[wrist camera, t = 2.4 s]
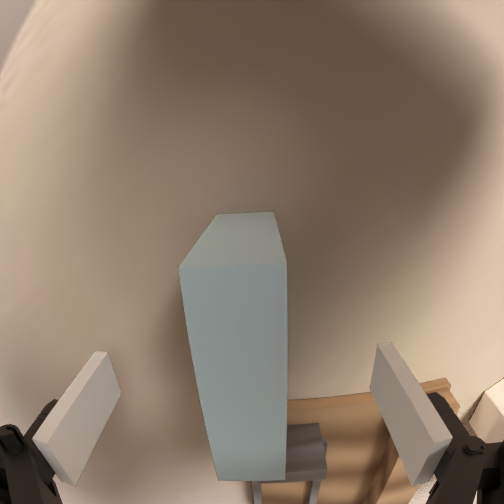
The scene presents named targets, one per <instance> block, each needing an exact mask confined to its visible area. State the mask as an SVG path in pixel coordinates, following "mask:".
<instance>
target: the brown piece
mask: <svg viewBox="0 0 504 504" xmlns="http://www.w3.org/2000/svg"><path fill="white" fill-rule="evenodd" d="M420 386H421V387H422V389H423V390H424V392H425V393H426V394H428V393H432V392H437V393H438V394H440V395H441V396H443V397H444V398H445V399H446V401H447V402H448V404H449V405H450V407H451V408H452V410H453V411H454V414H456V415H457V412H458V410H459V408H460V405H459V404H458V402H457V401H456V400H455V398H454V397H453V395H452V394H451V392H450V391H449V390H450V387H451V385H450V383H449V382H448V380H447V379H446V378H443V379H438V380H434V381H429V382H425V383H420ZM419 486H420V484H419V485H415V486H412V485H411V483H410V480H409V478H408V475H407V473H406V471H405V468H404V466H403V463H402V461H401V458H400V456H399V454H398V451H397V449H396V447H395V444H394V442H393V440H392V437H391V435H390V433H389V430H388V428H387V426H386V423H385V421H384V419H383V416H382V414H381V412H380V410H379V407H378V405H377V403H376V401H375V399H374V396H373V394H372V392H367V393H360V394H352V395H344V396H335V397H325V398H314V399H302V400H287V436H286V468H285V480H271V481H251V487H252V496H253V504H408V503H409V502H410V500H411V498H412V497H413V495H414V494H415V492H416V491H417V489H418V487H419Z"/></svg>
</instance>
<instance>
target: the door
mask: <svg viewBox="0 0 504 504" xmlns="http://www.w3.org/2000/svg"><path fill="white" fill-rule="evenodd" d="M178 270H179V277H180V285H181V292H182V299H183V306H184V313H185V319H186V326H187V332H188V338H189V344H190V350H191V356H192V361H193V367H194V372H195V378H196V383H197V388H198V393H199V400H200V404H201V408H202V413H203V417H204V422H205V427H206V431H207V436H208V440H209V445H210V449H211V453H212V457H213V461H214V465H215V470H216V474H217V477H218V480H224V481H271V480H285V468H286V436H287V379H288V304H287V262H286V257H285V253H284V249H283V246H282V242H281V238H280V234H279V230H278V226H277V222H276V218H275V214H274V212H253V213H233V214H217V215H216V216H215V218H214V219H213V220H212V222H211V223H210V224H209V226H208V227H207V228H206V230H205V231H204V232H203V234H202V235H201V237H200V238H199V239H198V241H197V242H196V243H195V245H194V246H193V248H192V249H191V250H190V252H189V253H188V254H187V256H186V257H185V259H184V260H183V261H182V263H181V264H180V266H179V267H178Z"/></svg>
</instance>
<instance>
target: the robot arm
mask: <svg viewBox="0 0 504 504" xmlns="http://www.w3.org/2000/svg"><path fill="white" fill-rule="evenodd" d="M370 390H371V392H372V394H373V396H374V399H375V401H376V403H377V405H378V407H379V410H380V412H381V414H382V416H383V419H384V421H385V423H386V426H387V428H388V430H389V433H390V435H391V437H392V440H393V442H394V444H395V447H396V449H397V451H398V454H399V456H400V458H401V461H402V463H403V466H404V468H405V471H406V473H407V475H408V478H409V480H410V483H411V485H412V486H415V485H419V484H422V483H425V482H428V481H429V480H430V479H431V477H432V475H433V474H435V476H436V478H437V481H436V483H435V484H434V486H433V487H432V489H431V490H430V492H429V494H430V496H429V498H428V500H427V502H426V504H473V501H474V498H475V495H476V492H477V504H504V440H503V442H496V443H485V442H484V441H483V440H482V439H481V438H478V437H476V436H470V435H469V434H468V432H467V431H466V429H465V428H464V426H463V424H462V423H461V421H460V420H459V418H458V417H457V415H456V414H454V411H453V410H452V408H451V407H450V405H449V404H448V402H447V401H446V399H445V398H444V397H443V396H441V395H440V394H438V393H437V392H432V393H428V394H426V393H425V392H424V390H423V389H422V387H421V386H420V384H419V383H418V381H417V379H416V378H415V376H414V375H413V373H412V372H411V370H410V369H409V367H408V366H407V364H406V363H405V361H404V360H403V358H402V357H401V355H400V354H399V352H398V351H397V349H396V348H395V347H394V345H393V344H392V342H391V343H383V344H377V350H376V356H375V362H374V368H373V374H372V379H371V385H370ZM120 396H121V391H120V388H119V385H118V382H117V379H116V376H115V373H114V370H113V367H112V363H111V360H110V357H109V353H108V352H101V351H95V352H94V354H93V355H92V356H91V357H90V359H89V360H88V361H87V363H86V364H85V365H84V367H83V368H82V369H81V371H80V372H79V373H78V375H77V376H76V377H75V379H74V380H73V381H72V383H71V384H70V386H69V387H68V388H67V390H66V391H65V392H64V394H63V395H62V397H61V398H60V399H59V400H55V399H54V400H53V401H51V402H50V403H49V404H47V405H46V406H45V407H44V409H43V410H42V411H41V414H39V416H38V417H37V420H35V421H34V423H33V424H32V425H31V427H30V428H29V429H28V431H27V432H26V434H25V435H24V437H23V435H22V433H21V432H20V430H19V428H18V427H16V426H15V425H11V424H9V425H4V426H1V427H0V504H63V503H62V501H61V498H60V495H59V492H58V490H57V487H56V484H55V482H54V480H53V479H52V478H53V476H54V475H55V474H56V475H57V476H58V478H59V479H60V480H61V481H62V482H65V483H68V484H71V485H75V486H76V484H77V482H78V480H79V478H80V475H81V473H82V471H83V469H84V467H85V465H86V463H87V461H88V459H89V457H90V455H91V453H92V451H93V449H94V447H95V445H96V443H97V441H98V439H99V437H100V435H101V433H102V431H103V429H104V427H105V425H106V423H107V421H108V419H109V417H110V415H111V413H112V411H113V409H114V407H115V405H116V403H117V401H118V400H119V398H120Z"/></svg>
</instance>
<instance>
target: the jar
mask: <svg viewBox="0 0 504 504" xmlns="http://www.w3.org/2000/svg"><path fill="white" fill-rule="evenodd" d="M469 424H470V425H471V427H472V429H473V430H474V432H475V433H476V435H477V436H478V438H481V439H482V440H483V441H484V442H485V443H496V442H503V440H504V378H503V379H502V380H500V381H499V382H498V383H496V384H495V385H493V386H492V387H491V388H489V389H488V390H486V391H485V392H484V394H483V396H482V398H481V400H480V402H479V404H478V406H477V408H476V410H475V412H474V413H473V415H472V417H471V419H470V421H469Z"/></svg>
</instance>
